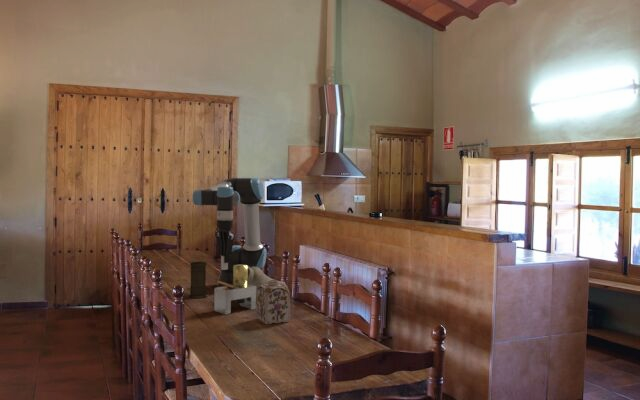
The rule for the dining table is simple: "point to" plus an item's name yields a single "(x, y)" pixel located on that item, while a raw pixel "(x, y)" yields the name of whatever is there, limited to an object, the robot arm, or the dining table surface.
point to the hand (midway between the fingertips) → (224, 269)
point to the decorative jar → (273, 302)
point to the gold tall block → (240, 278)
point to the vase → (258, 277)
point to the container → (198, 280)
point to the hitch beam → (234, 298)
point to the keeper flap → (226, 284)
